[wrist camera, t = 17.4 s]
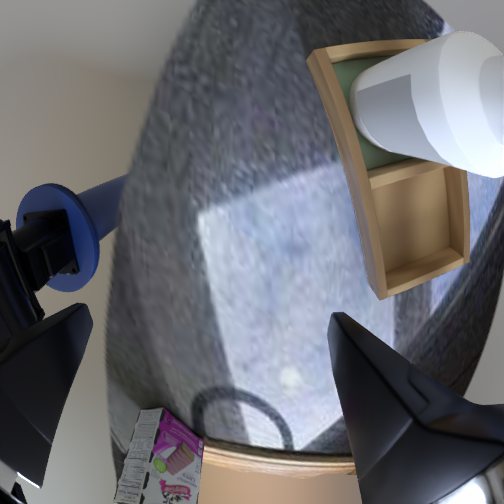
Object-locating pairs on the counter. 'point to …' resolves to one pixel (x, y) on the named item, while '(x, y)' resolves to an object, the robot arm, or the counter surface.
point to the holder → (393, 183)
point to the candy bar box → (161, 462)
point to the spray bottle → (437, 103)
